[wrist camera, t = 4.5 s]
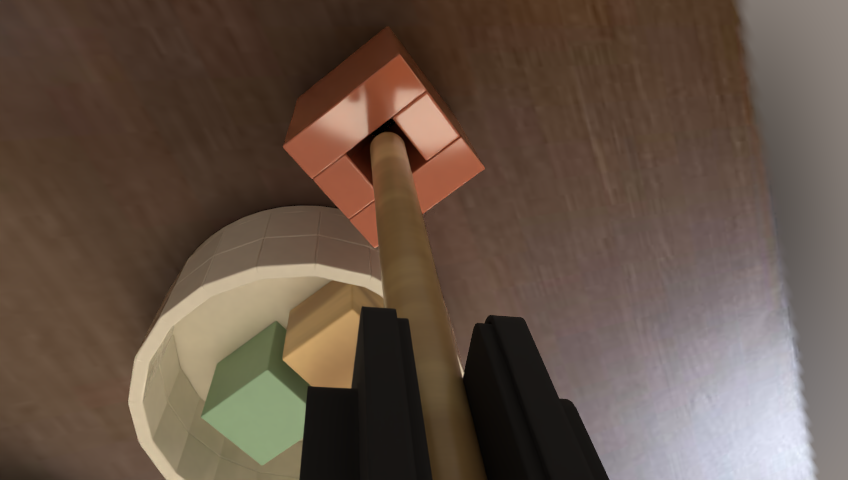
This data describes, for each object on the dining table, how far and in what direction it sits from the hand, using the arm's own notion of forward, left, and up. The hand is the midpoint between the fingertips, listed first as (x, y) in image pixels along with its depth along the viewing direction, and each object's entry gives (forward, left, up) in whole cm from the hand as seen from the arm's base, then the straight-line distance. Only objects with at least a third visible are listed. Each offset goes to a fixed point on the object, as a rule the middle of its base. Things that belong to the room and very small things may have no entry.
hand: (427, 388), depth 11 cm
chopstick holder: (0, 0, -20) cm, 20 cm away
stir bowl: (+7, -10, -20) cm, 23 cm away
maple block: (+7, -8, -19) cm, 22 cm away
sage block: (+7, -13, -19) cm, 24 cm away
